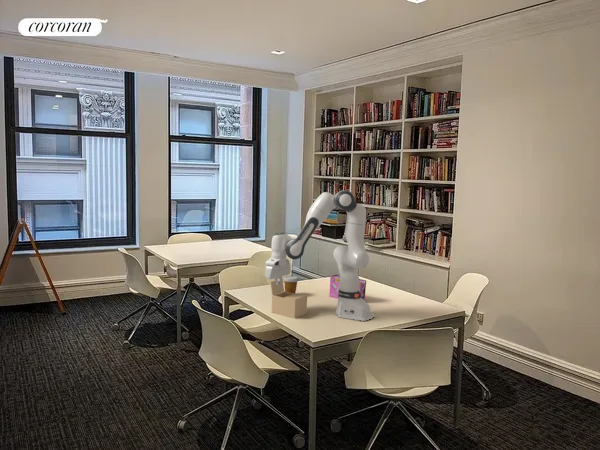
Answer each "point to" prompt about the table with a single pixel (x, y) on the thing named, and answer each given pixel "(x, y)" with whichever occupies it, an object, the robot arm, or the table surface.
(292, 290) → the disposable coffee cup
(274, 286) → the carton flap
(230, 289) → the table surface
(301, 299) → the kraft carton
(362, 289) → the gum box
